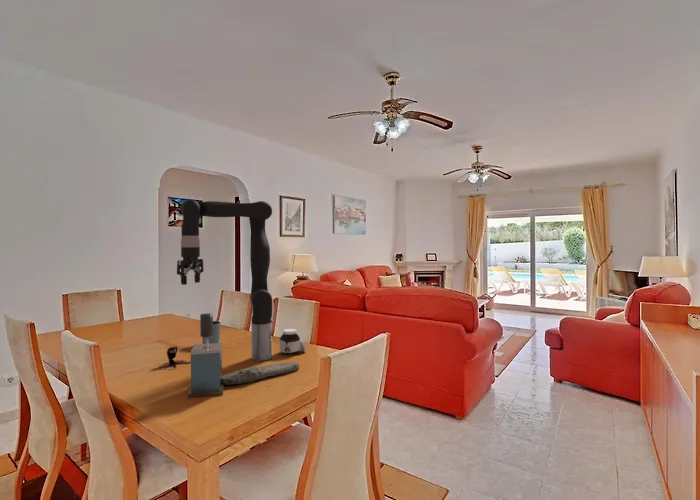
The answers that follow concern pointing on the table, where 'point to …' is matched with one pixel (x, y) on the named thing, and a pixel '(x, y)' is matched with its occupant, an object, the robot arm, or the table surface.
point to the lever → (206, 326)
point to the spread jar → (291, 342)
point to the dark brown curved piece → (172, 354)
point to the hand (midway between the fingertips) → (190, 283)
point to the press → (206, 371)
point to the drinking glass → (214, 333)
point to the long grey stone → (258, 373)
